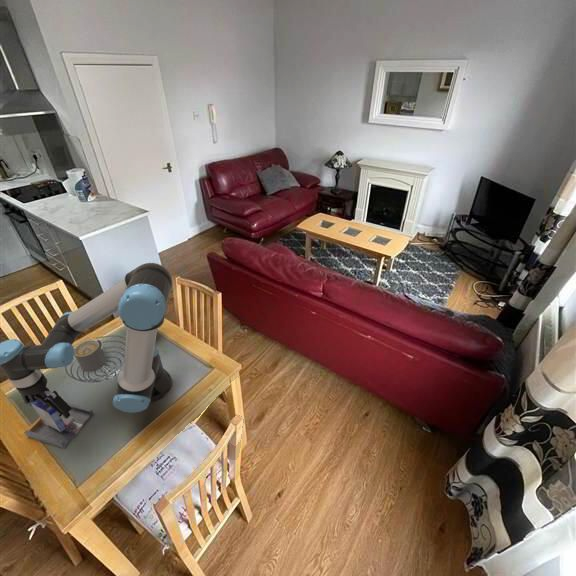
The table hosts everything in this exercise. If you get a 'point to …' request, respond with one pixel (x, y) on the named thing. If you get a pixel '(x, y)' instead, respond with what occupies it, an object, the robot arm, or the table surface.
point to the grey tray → (56, 437)
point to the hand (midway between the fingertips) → (57, 417)
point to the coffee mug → (90, 355)
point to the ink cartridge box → (49, 415)
